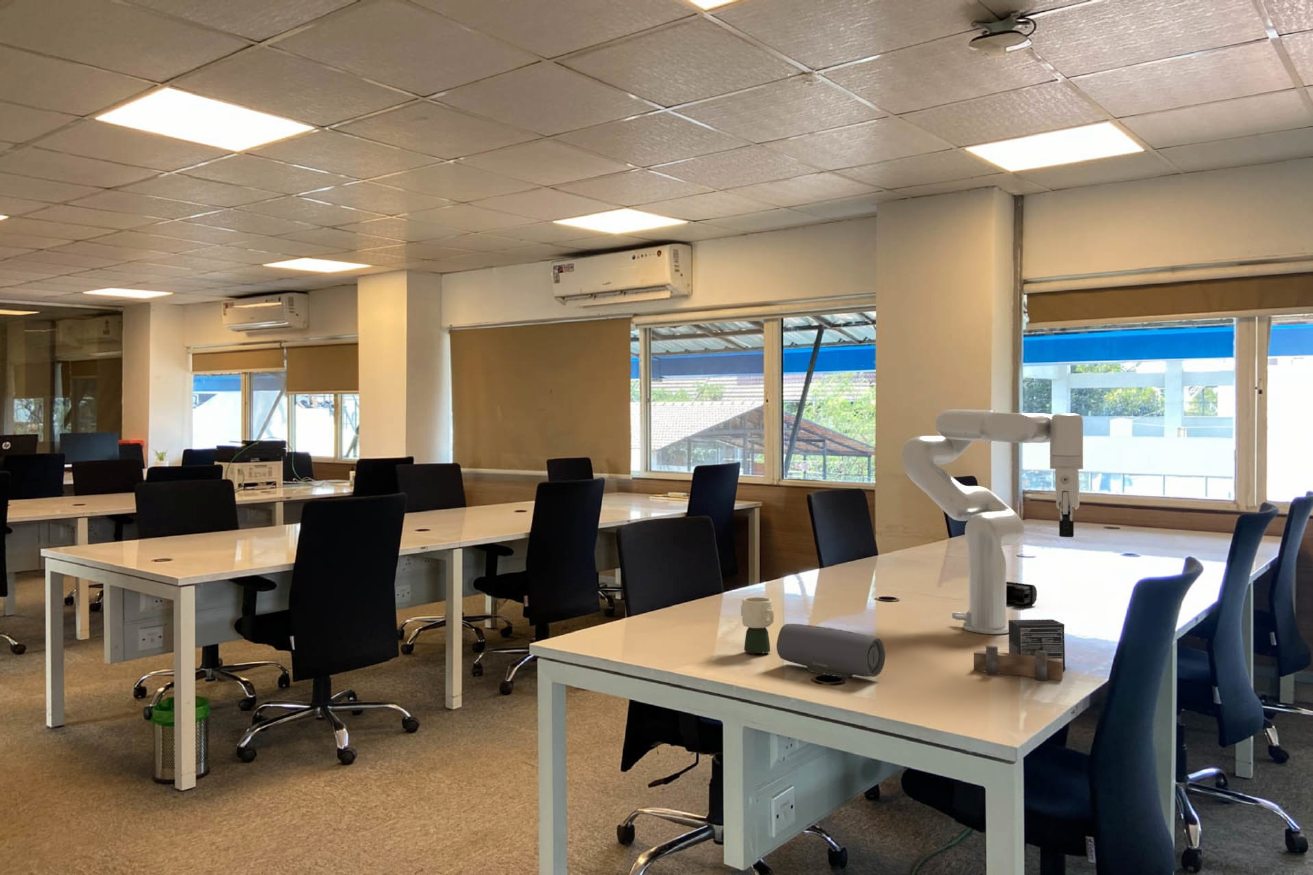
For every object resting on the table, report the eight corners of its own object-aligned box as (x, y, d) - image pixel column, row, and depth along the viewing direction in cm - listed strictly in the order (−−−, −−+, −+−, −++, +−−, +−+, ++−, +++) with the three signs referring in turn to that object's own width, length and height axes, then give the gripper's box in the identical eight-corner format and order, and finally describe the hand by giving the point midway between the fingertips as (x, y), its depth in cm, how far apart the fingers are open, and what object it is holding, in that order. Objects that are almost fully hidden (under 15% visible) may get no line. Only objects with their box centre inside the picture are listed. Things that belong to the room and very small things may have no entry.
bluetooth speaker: (886, 678, 197) (886, 632, 197) (865, 687, 190) (865, 639, 190) (797, 660, 212) (797, 618, 212) (775, 668, 205) (775, 624, 205)
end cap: (1037, 605, 278) (1037, 583, 278) (1026, 608, 273) (1026, 586, 273) (1006, 601, 285) (1006, 579, 285) (995, 604, 281) (995, 582, 280)
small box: (1053, 663, 208) (1053, 618, 208) (1066, 671, 202) (1066, 624, 202) (1007, 663, 208) (1007, 618, 208) (1018, 671, 202) (1018, 624, 202)
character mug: (783, 655, 217) (783, 600, 217) (762, 659, 213) (762, 604, 213) (752, 646, 226) (752, 594, 226) (731, 650, 221) (730, 597, 221)
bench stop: (972, 672, 200) (972, 645, 200) (975, 667, 205) (975, 640, 205) (1061, 683, 192) (1061, 654, 192) (1062, 676, 197) (1062, 649, 197)
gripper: (1081, 464, 218) (1081, 540, 218) (1084, 462, 231) (1084, 534, 231) (1047, 463, 221) (1047, 539, 221) (1052, 462, 234) (1052, 533, 234)
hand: (1066, 536), depth 226 cm, fingers closed
